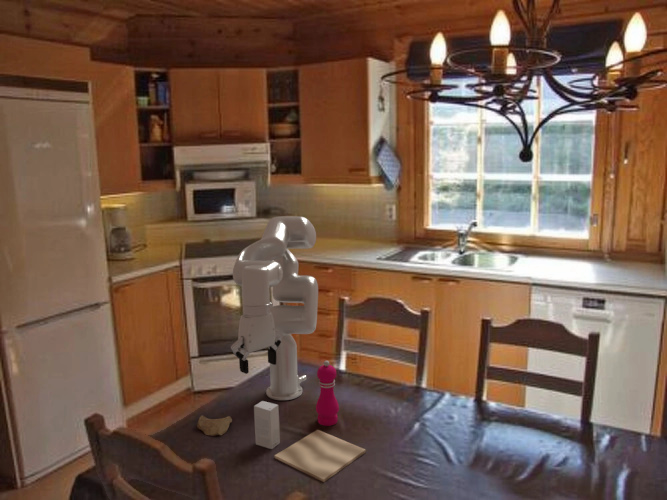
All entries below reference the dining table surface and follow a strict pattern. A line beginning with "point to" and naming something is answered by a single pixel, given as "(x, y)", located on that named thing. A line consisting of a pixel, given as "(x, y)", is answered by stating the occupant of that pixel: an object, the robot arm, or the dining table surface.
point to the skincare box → (267, 424)
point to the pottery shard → (214, 425)
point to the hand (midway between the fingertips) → (258, 367)
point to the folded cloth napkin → (320, 455)
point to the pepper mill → (327, 396)
